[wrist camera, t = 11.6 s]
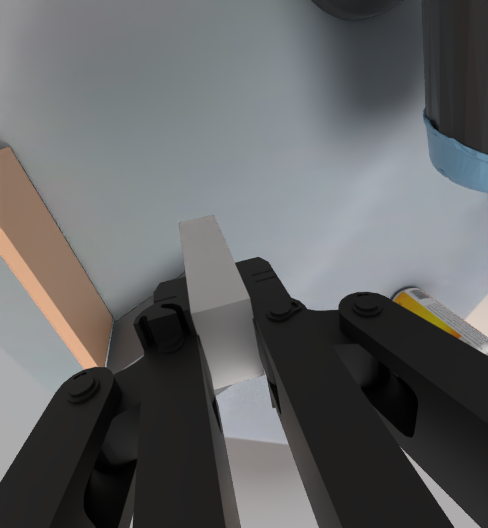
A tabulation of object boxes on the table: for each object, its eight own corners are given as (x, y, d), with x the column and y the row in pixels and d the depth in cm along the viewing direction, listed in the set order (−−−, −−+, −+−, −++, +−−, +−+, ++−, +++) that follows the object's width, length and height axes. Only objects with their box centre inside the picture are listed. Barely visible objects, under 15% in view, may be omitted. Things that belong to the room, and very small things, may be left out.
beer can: (385, 322, 53) (461, 394, 40) (388, 290, 50) (471, 357, 37) (418, 312, 54) (502, 380, 41) (423, 281, 51) (515, 343, 38)
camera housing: (204, 258, 41) (220, 306, 31) (247, 309, 45) (271, 364, 36) (102, 331, 42) (88, 399, 32) (155, 373, 46) (155, 443, 37)
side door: (-15, 153, 30) (-77, 174, 22) (9, 146, 30) (-44, 164, 22) (98, 328, 41) (84, 387, 33) (115, 322, 41) (106, 378, 33)
